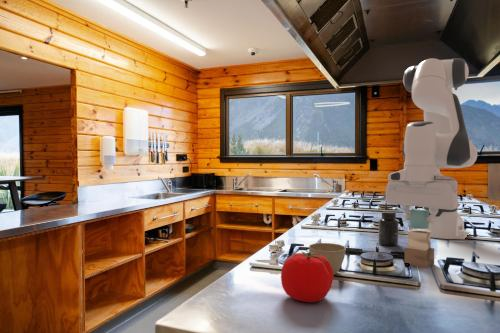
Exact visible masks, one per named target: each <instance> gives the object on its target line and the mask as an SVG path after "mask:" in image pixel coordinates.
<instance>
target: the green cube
mask: <svg viewBox="0 0 500 333" xmlns="http://www.w3.org/2000/svg"><path fill="white" fill-rule="evenodd" d="M409 212H410V220H409V227H410V228H411V229H427V228H429V223H427V222H426V217H429V211H428V210H425V209H417V208H413V209H410V210H409Z"/></svg>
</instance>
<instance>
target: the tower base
mask: <svg viewBox="0 0 500 333" xmlns="http://www.w3.org/2000/svg"><path fill="white" fill-rule="evenodd" d="M403 262H404V263H409V264H410V265H409V266H413V267H417V268H421V269H426V268H429V267H432V266H434V265H435V248H433V247H431V248H430V249H428V250H427V251H423V250H416V249H410V248H408V246H406V247H404V261H403ZM433 264H434V265H433Z"/></svg>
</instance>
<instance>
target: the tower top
mask: <svg viewBox="0 0 500 333" xmlns="http://www.w3.org/2000/svg"><path fill="white" fill-rule="evenodd" d="M417 229H418V228H411V229H410V230H408V231H407V247H408V248H410V249H416V250H423V251H427V250H428V249H430V248H432V247H431V245H432V244H431V241H432V240H431V238H432V237H431V231H425V230H417Z"/></svg>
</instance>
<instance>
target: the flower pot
mask: <svg viewBox="0 0 500 333" xmlns="http://www.w3.org/2000/svg"><path fill="white" fill-rule="evenodd" d="M308 250H309V251H308V252H309V253H311V254H317V255H320V256H323V257H325V258H326V259H327V260H328V261H329V263H330V265H331V267H332V269H333V276H334V275H337V273H338V272H339V271H340V269H341V267H342V265H343V263H344V259H345V256H346V251H347V248H346V246H345V245H343V244H342V245H341V244H338V243H329V242H317V243H311V244H310V245H308Z"/></svg>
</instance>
